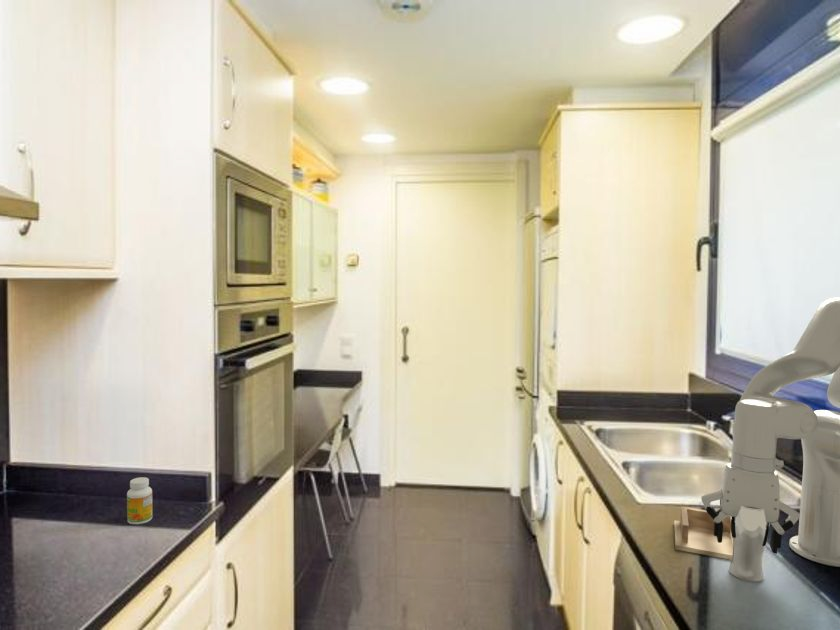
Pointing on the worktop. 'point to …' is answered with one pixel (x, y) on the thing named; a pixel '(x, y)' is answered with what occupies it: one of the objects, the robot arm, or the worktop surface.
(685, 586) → the worktop surface
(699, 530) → the glass rest
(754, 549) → the beer glass
